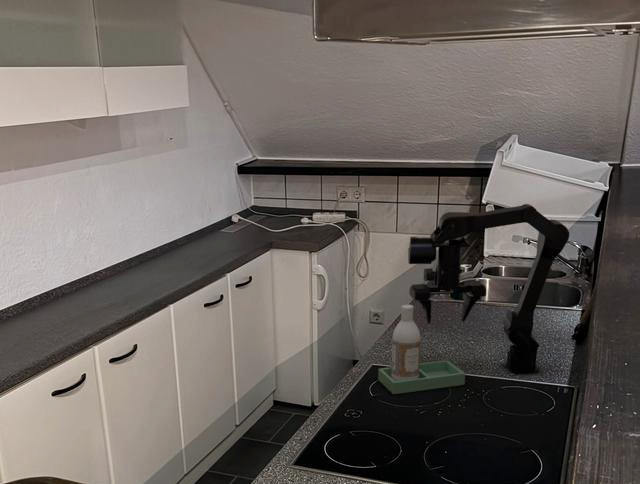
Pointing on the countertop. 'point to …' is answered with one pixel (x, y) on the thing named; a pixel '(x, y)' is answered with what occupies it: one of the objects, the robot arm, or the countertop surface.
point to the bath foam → (406, 347)
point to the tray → (424, 378)
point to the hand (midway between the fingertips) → (445, 322)
